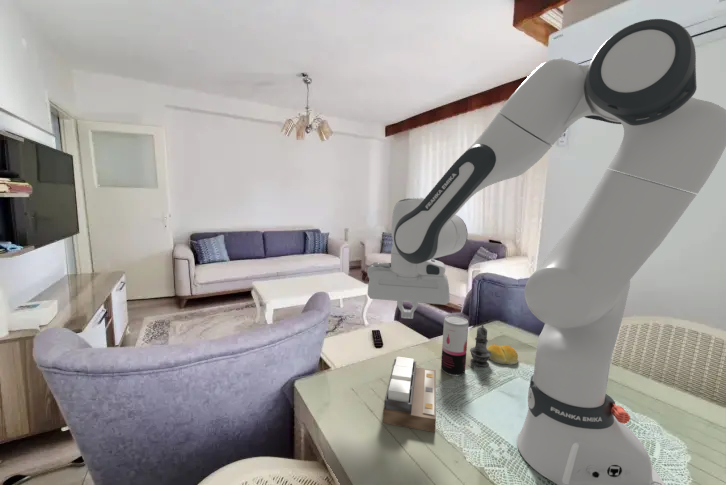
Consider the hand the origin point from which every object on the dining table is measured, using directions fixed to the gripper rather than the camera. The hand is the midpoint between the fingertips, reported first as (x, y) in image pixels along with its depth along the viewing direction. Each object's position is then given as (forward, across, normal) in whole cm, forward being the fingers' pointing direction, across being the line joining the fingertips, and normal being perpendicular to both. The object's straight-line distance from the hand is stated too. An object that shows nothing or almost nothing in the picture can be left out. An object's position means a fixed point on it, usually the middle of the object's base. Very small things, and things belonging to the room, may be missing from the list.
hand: (407, 317), depth 79 cm
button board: (+18, +2, -6) cm, 19 cm away
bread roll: (+19, +28, +21) cm, 40 cm away
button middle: (+14, 0, -6) cm, 15 cm away
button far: (+15, 0, 0) cm, 15 cm away
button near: (+14, 0, -12) cm, 18 cm away
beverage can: (+18, +12, +10) cm, 25 cm away
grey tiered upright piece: (+19, +20, +16) cm, 32 cm away
